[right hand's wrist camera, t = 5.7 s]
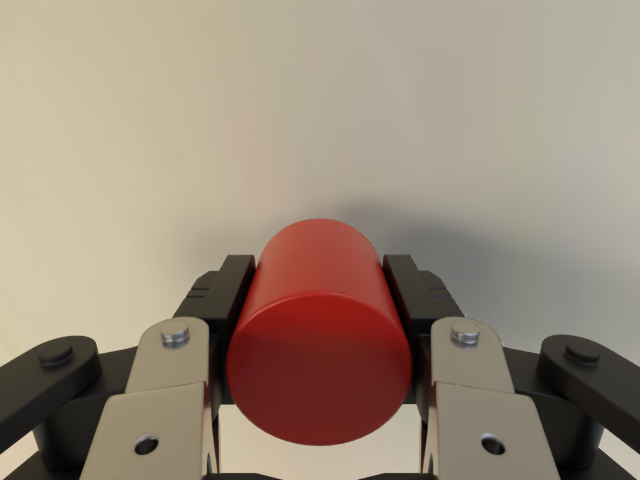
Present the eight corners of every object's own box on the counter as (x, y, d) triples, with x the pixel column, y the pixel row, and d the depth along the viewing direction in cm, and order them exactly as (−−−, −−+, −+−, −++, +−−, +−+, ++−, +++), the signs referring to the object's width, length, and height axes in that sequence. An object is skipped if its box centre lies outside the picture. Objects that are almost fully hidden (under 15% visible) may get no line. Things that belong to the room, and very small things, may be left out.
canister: (392, 314, 13) (428, 427, 8) (278, 340, 13) (258, 462, 9) (365, 203, 11) (392, 271, 7) (240, 235, 12) (195, 318, 8)
